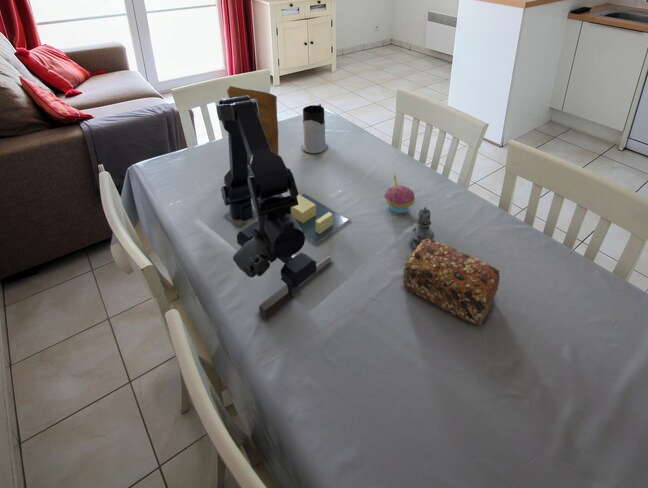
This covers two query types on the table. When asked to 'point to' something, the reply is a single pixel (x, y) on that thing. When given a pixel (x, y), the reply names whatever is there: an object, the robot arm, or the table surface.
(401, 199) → the cupcake
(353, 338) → the table surface
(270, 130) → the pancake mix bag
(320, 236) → the butter dish
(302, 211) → the butter block
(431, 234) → the grey figurine
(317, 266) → the knife
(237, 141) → the robot arm
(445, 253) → the bread
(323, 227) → the butter slice
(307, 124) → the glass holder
